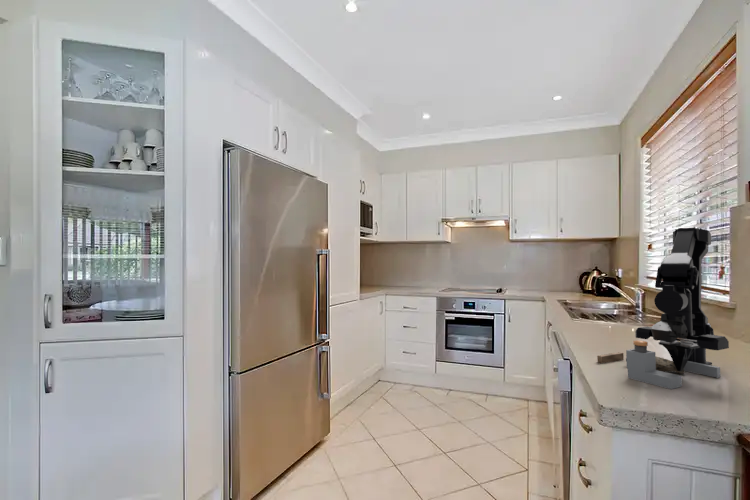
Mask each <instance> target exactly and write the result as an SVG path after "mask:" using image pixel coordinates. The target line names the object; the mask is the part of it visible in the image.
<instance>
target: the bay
mask: <svg viewBox="0 0 750 500" xmlns="http://www.w3.org/2000/svg"><path fill="white" fill-rule="evenodd" d="M625 353H626V355H625V356H626V357H625V362H626V363H625V364H626V368H627V378H628V379H632V380H635V381H639V382H643V383H646V384H650V385H653V386H657V387H661V388H666V389H669V390H673V389H677V388H682V387H683V377H682V375H681V374H680V375H679V374H675V373H672V372H663V371H658V370H656V357H657V356H656V351H652V350H648V349H647V353H640V352H635V349H634V348H631V349H626V352H625ZM655 356H656V357H655ZM684 372H689V373H695V374H698V375H703V376H708V377H711V378H717V379H718V378H721V367H720V366H717V365H716V366H715V365H712V364H710V365H706V364H701V363H696V362H691V361H687V363H686V365H685V367H684Z"/></svg>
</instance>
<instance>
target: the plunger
mask: <svg viewBox="0 0 750 500" xmlns="http://www.w3.org/2000/svg"><path fill="white" fill-rule="evenodd" d="M633 347H634V348H633V349H635V352H640V353H647V350H648V348H647V347H648V341H644V340H633Z"/></svg>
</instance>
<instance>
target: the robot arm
mask: <svg viewBox="0 0 750 500" xmlns="http://www.w3.org/2000/svg"><path fill="white" fill-rule="evenodd" d="M710 245H712V234H711V232H710V230H708V229H704V228H699V227H697V226H695V225H694V226H693V225H692V226H679V227H678V228H677V227H676V228H675V229H674V231H672V249H671V252H670V254H669V255H668V256H667V257H664V258H663V259H662V261H661V262H660V263H661V264H660V265H658V267H657V271H656V272H657V273H656V277H655V283H654V284H655V285H654V287H655V288H656V289H659V288H660V289H661V291H659V292H658V293H657V294H656V295H655V296H654V300H653V301H654V305H655V307H656V308H657V310H659V311H660V312H662V313H661V316H660V321H656V323H654V324H653V325H652V326H641V327H640V326H639V327H637V328H636V329H635V335H634V337H635V339H641V340H649V338H653V339H652V340H654V341H658V342H657V343H658V345H660V346H662V347H663V348H664V349H666V350H667V352H668V354H669V356H670V357H671V361H673V362H674V365H675V367H676V369H677V371H680V372H681V371H683V369H684V367H685V365H686V363H687V361H691V362H696V363H701V364H706V365H713V362H711V361H708V360H707V351H706V350H711V351H721V350H726V349H729V348H730V345H729V344H730V343H729V340H728V338H727V337H726V336H722V335H715V332H714V328H713V327H712V325H711V323H710V322H709V319H708V317H707V315H706V314H705V312H704V311H703V309H702V260H703V258H704V257H705V256H706V255H707V254H708V252H709V246H710Z"/></svg>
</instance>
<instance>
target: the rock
mask: <svg viewBox="0 0 750 500" xmlns="http://www.w3.org/2000/svg"><path fill="white" fill-rule="evenodd" d="M655 357H656V370H658V371H662V372H667V373H674V374H675V373H676V374H680V375H681V374H682V375H684V374H685V371H684V369H683V371H681V372H680V371H677V369H676V367H675V365H674V362H673V360H670V359H667V358H664V357H660V356H656V355H655Z"/></svg>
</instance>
